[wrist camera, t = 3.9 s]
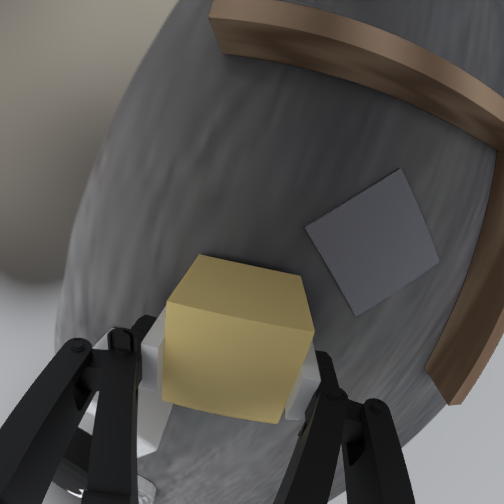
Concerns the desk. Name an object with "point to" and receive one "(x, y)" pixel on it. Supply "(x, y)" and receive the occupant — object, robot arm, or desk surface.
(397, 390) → the desk surface
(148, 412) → the medicine bottle
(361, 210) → the mat
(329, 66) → the angled wooden barrier
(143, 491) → the white cup
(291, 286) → the cube
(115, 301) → the desk surface
